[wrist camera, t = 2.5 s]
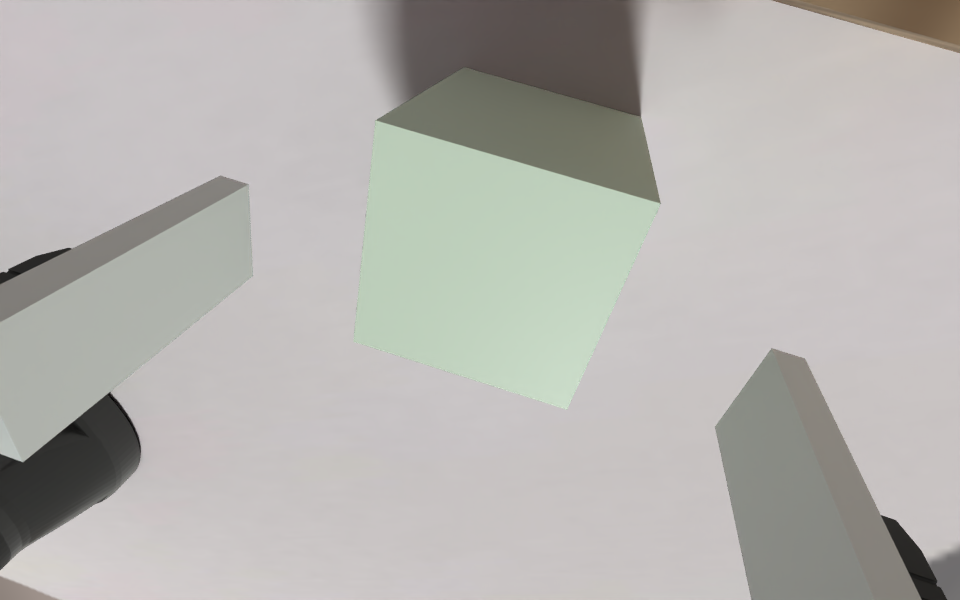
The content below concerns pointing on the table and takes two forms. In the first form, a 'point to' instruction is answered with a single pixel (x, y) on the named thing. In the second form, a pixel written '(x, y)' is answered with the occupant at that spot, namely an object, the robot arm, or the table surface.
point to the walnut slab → (896, 17)
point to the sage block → (501, 231)
